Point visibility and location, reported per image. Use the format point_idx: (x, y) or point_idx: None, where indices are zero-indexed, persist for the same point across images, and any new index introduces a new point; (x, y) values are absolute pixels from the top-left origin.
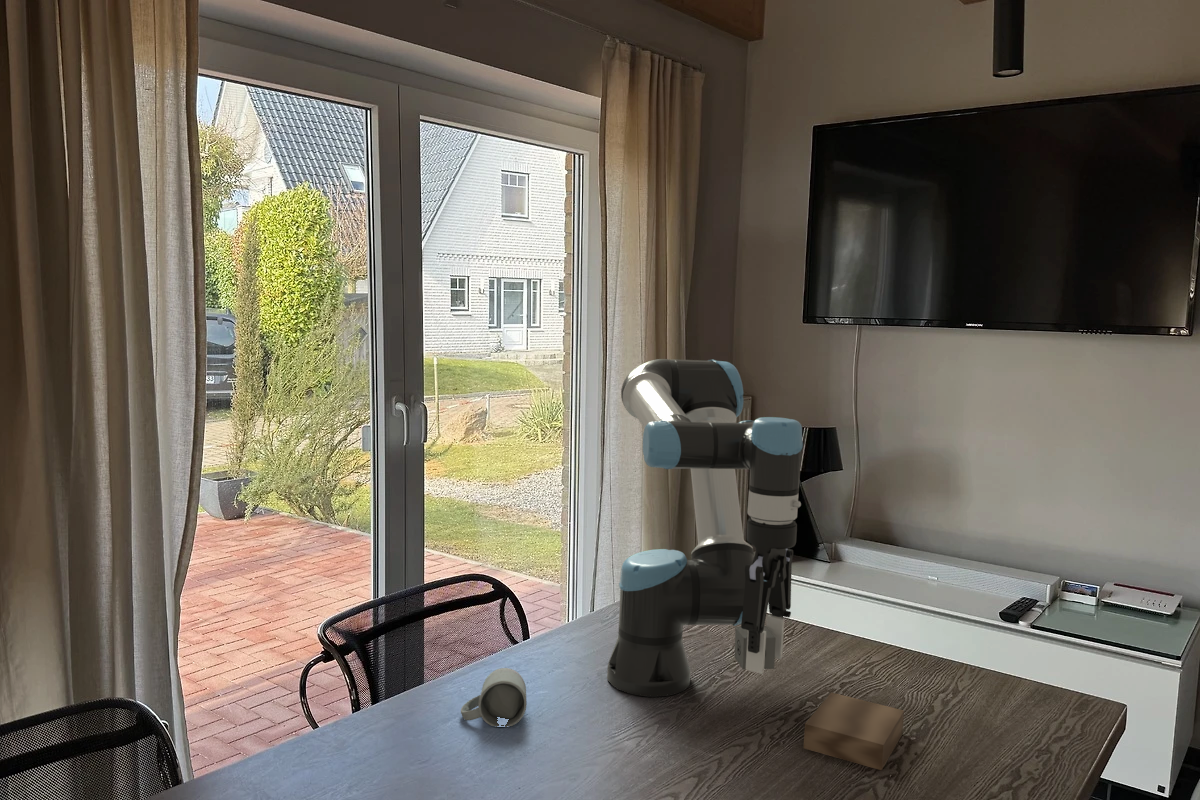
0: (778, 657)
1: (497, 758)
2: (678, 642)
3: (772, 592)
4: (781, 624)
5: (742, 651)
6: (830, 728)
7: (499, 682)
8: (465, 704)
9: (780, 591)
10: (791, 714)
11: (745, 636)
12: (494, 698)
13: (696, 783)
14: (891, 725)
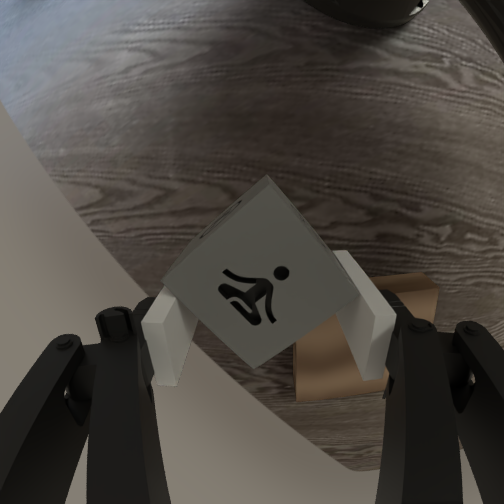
0: None
1: (19, 5)
2: None
3: (396, 442)
4: (357, 364)
5: (182, 253)
6: (304, 339)
7: None
8: None
9: (377, 489)
10: (396, 221)
11: (182, 278)
12: None
13: (90, 204)
14: (363, 390)
